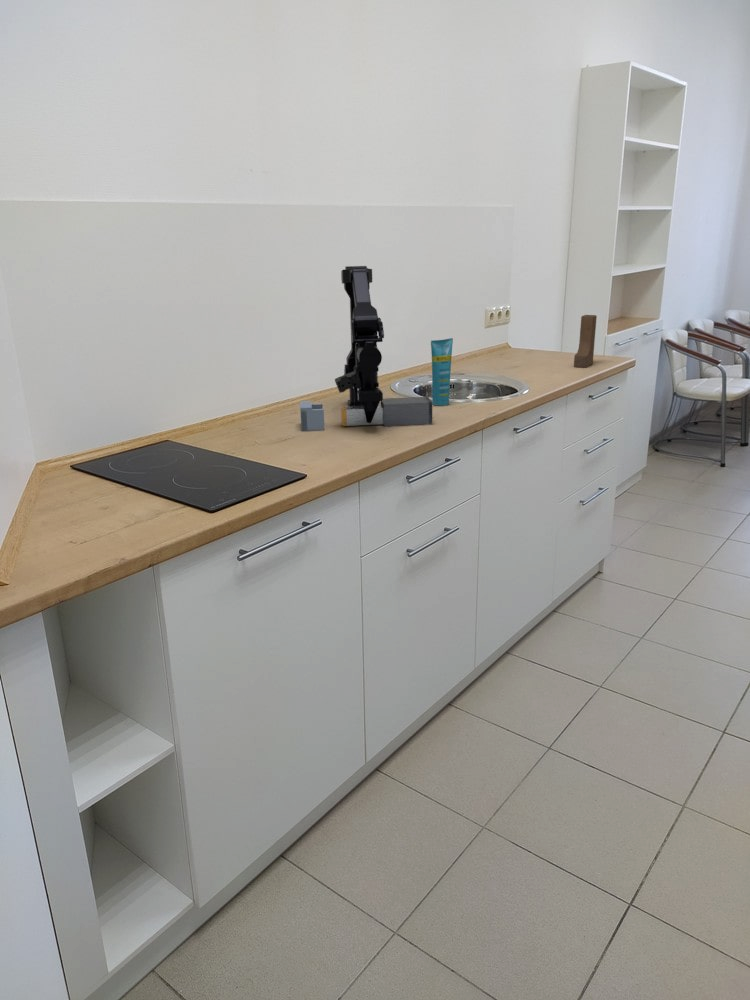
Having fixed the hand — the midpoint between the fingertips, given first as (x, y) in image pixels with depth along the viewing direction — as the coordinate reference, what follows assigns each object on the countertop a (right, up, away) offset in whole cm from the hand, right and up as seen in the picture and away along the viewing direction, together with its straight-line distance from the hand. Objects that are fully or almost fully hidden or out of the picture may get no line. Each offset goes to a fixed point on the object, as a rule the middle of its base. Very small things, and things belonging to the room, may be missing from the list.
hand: (367, 420), depth 199 cm
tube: (+22, +7, +21) cm, 31 cm away
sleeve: (+10, 0, +1) cm, 11 cm away
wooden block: (+79, +28, +74) cm, 112 cm away
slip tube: (+4, -1, +1) cm, 4 cm away
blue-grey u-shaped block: (-15, -2, -1) cm, 15 cm away
